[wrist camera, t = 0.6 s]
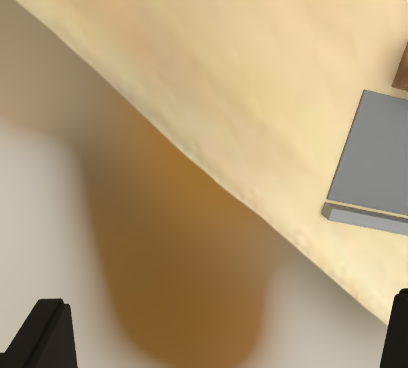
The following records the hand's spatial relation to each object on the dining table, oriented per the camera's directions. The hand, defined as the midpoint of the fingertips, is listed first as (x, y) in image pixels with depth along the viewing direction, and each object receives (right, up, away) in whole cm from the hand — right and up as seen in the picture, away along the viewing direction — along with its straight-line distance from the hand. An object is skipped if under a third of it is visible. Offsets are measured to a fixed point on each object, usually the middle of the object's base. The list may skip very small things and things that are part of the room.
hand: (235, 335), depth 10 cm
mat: (+23, +7, +31) cm, 39 cm away
